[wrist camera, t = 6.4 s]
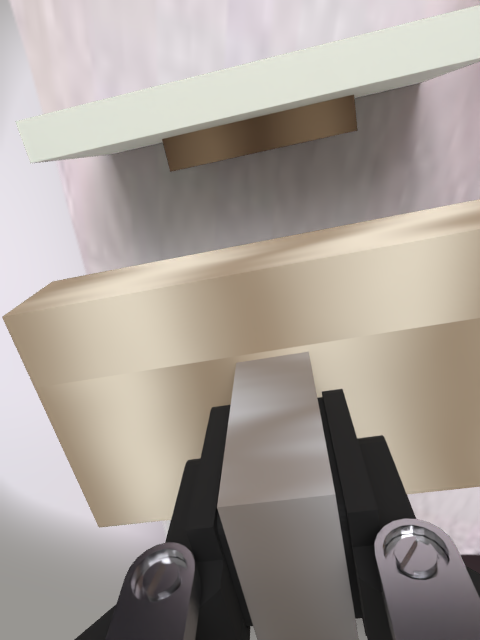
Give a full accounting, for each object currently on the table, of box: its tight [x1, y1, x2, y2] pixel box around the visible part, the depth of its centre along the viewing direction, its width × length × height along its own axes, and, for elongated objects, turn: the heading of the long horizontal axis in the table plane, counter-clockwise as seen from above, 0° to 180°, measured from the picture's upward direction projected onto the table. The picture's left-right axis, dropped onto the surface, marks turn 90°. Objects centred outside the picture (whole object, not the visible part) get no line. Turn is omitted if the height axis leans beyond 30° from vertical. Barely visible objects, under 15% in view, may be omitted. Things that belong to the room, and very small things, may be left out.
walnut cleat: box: [162, 95, 357, 172], centre depth 29 cm, size 12×2×4 cm, turn 102°
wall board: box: [16, 5, 480, 163], centre depth 26 cm, size 23×2×12 cm, turn 102°
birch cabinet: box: [3, 199, 480, 640], centre depth 15 cm, size 14×8×15 cm, turn 102°
